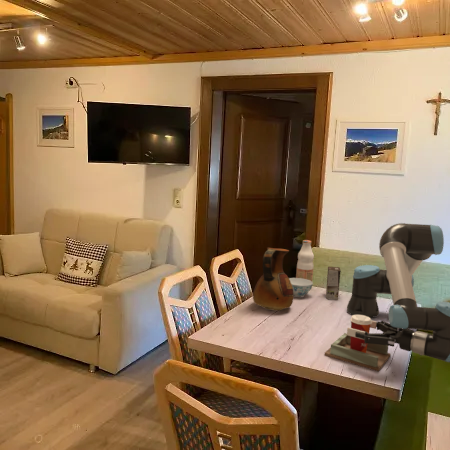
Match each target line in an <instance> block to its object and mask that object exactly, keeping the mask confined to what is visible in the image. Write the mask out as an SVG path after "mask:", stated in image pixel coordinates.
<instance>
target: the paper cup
mask: <svg viewBox="0 0 450 450" xmlns="http://www.w3.org/2000/svg"><path fill="white" fill-rule="evenodd" d="M371 320H372V318H369V317H367V316H364V315H352V316H351V318H350V328H352V329H356V330H360V331H364V332H365V331H366V332H367V333H370V331H371V328H370V325H371V323H372V322H371ZM367 344H368V343H365V340H363V339H360V338H356V337H352V336H351V341H350V349H353V350H357V351H360V352H364V353H366V350H367Z"/></svg>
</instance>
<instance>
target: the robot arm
mask: <svg viewBox="0 0 450 450" xmlns="http://www.w3.org/2000/svg"><path fill="white" fill-rule="evenodd" d="M444 237H445V236H444V233H443V229H442V227H440V226H439V225H434V224H433V225H432V224H419V223H418V224H417V223H405V222H404V223H403V222H400V223H399V222H398V223H396V224H392V225H391V226H389V227H388V228H387V229H386V230H385V231H384V232H383V234H382V235H381V238H380V240H379V243H378V245H379V247H378V249H379V253H380V256H381V257H383V259H384V265H385V269H380V267H379V266H378V265H372V264H364V265H359V266H356V267H355V268H354V271H353V276H352V289H351V296H350V299H349V301H348V304H347V305H346V312H347V313H348V314H349V315H352V316H353V315H364V316H367V317H369V318H370V319H371V322H372V323H371V325H370V329H373V330H376V331H381V332H382V333H377V332H375V333H374V332H373V333H371V332H369V333H367V332H366V331H365V332H364V331H360V330H356V329H352V328H351V327H349V326H348V327H347V330H346V333H347V335H349V336H352V337H356V338H360V339H363V340H365V343H370V344H379V345H388V347H395V344H398V347H399V349H400V350H403V351H405V352H406V351H407V352H412V353H415V354H418V355H420V356H425V357H430V358H434V359H437V360H440V361H443V362H446V363H450V302H448V301H438V302H436V305H435V307H427V306H426V307H424V306H418V304H417V299H416V295H415V291H414V284H415V280H414V279H415V278H414V273H415V272H416V270H417V269H418V268H419V266H420V265H421V264H422V262H423V261H426V260H428V259H430V258H431V256H432V255H435V256H437V255H438V256H439V255H441V254H442V253H443V251H444V243H445V242H444V241H445V240H444ZM378 294H380V295H391V298H392V304H391V305H390V307H389V309H388V314H387V315H388V322H386V321H384V320H380V321H376V320H372V319H373V318H377V317H378V316H380V315H379V314H380V309H379V305H378V301H377V300H378V299H377V298H378ZM415 330H416V331H415ZM420 330H421V331H420ZM423 331H431V332H432V333H427V332H423Z"/></svg>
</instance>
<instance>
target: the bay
mask: <svg viewBox="0 0 450 450" xmlns="http://www.w3.org/2000/svg"><path fill="white" fill-rule="evenodd" d="M350 341H351V336H349V335H347V332H344V333H343V334H342V335H341V336H340V337H338V338H337V339H335V341H334V342H333V343H331V344H330V348H328V349H327V350H325V352H324V354H323V355H324V356H326V357H329V358H333V359H336V360H340V361H342V362H346V363H350V364H353V365H356V366H359V367H362V368H366V369H369V370H372V371H376V372H379V371H380V370H381V369H382V368H383V367H384V365H385V364H386V362H387V361H388V360H389V358H390V357H391V353H389V346H388V345H379V344H370V343H368V344H367V350H366V353H364V352H360V351H357V350H353V349H350Z"/></svg>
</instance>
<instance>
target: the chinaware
mask: <svg viewBox="0 0 450 450" xmlns="http://www.w3.org/2000/svg"><path fill="white" fill-rule="evenodd" d="M288 278H289V280H290V282H291V284H292V287H293V293H294V296H293V297H297V298H302V297H305V295H306V294H308V293H309V292H310V291H311V290H312V289H313V285H314V282H313V280H312V281H310V280H307V279H302V278H296V277H288ZM311 288H312V289H311Z"/></svg>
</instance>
